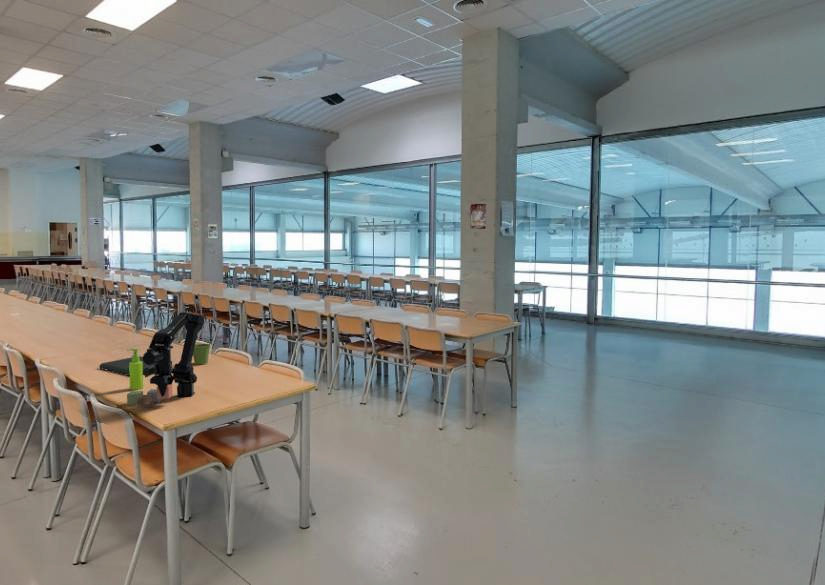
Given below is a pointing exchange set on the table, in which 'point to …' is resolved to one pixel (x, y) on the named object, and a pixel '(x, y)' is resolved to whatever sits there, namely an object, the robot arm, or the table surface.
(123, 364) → the closed laptop
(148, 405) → the walnut cube
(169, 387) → the red cube
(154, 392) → the slate cube
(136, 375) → the soap dispenser
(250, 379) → the table surface
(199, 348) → the plant pot
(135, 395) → the olive cube
